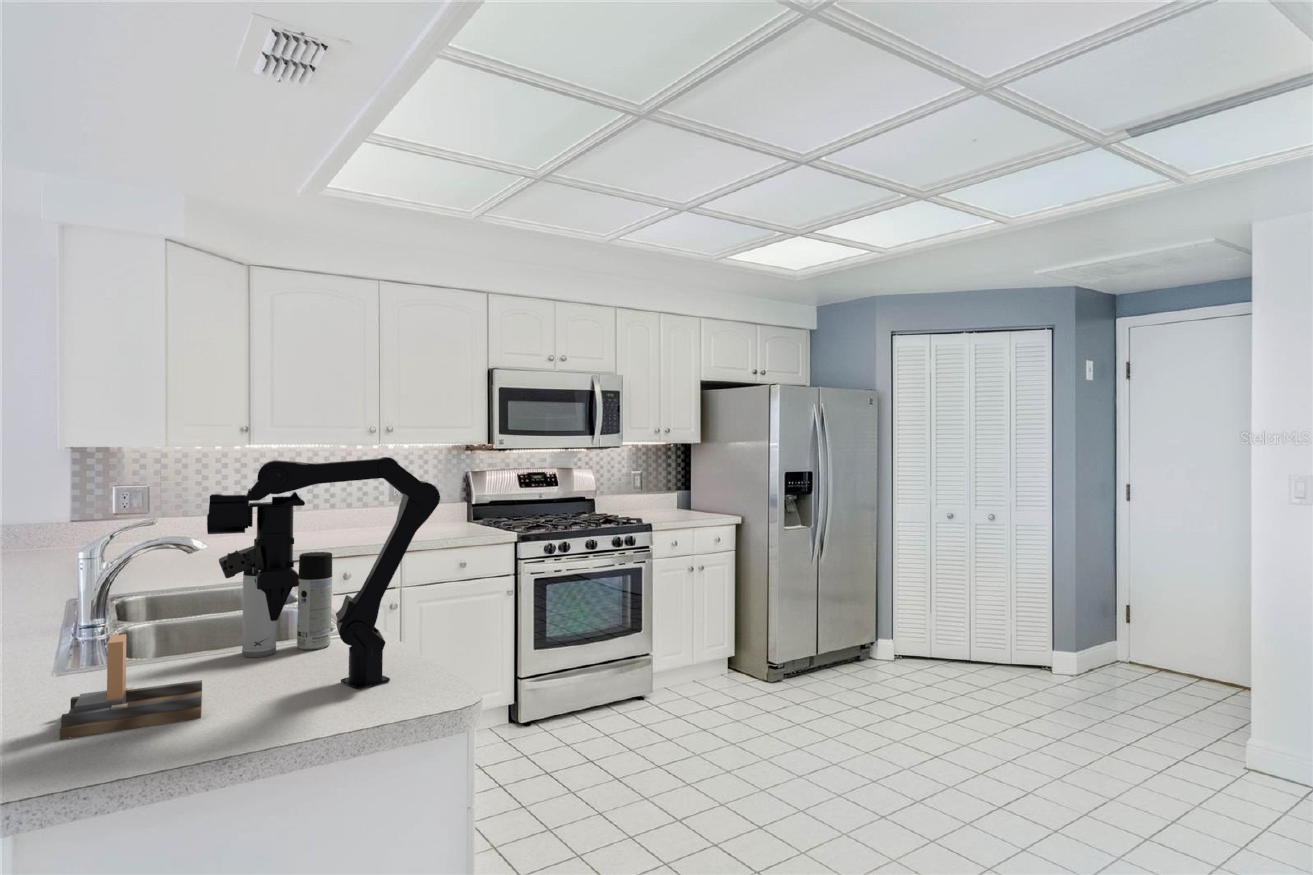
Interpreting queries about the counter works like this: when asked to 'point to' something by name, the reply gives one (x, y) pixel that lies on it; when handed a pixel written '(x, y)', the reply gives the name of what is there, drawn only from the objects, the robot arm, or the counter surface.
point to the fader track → (137, 710)
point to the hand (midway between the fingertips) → (273, 620)
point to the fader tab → (109, 679)
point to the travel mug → (256, 620)
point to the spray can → (314, 600)
